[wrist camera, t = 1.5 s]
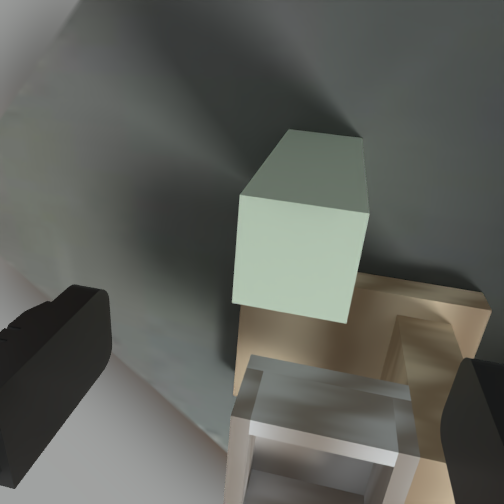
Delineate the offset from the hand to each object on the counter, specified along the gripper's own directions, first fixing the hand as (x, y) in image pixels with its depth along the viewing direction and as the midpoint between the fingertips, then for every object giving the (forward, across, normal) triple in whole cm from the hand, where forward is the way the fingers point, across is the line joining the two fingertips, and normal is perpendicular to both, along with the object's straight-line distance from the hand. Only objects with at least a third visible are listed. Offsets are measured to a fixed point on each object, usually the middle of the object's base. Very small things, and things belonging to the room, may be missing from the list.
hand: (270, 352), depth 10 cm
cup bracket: (+17, -4, +11) cm, 20 cm away
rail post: (+17, 0, 0) cm, 17 cm away
